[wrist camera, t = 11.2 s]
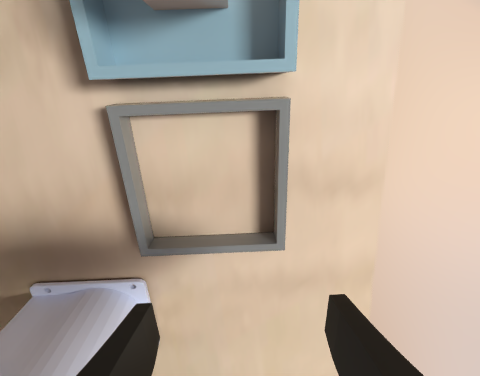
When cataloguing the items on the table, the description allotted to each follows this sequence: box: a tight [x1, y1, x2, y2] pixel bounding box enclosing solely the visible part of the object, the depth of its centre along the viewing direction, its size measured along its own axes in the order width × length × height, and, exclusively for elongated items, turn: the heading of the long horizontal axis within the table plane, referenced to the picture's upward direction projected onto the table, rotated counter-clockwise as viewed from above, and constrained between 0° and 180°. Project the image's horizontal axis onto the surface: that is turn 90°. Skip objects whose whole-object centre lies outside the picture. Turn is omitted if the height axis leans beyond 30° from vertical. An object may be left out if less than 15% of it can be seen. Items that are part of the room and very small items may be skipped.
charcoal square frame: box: [106, 97, 291, 256], centre depth 17 cm, size 11×11×2 cm
